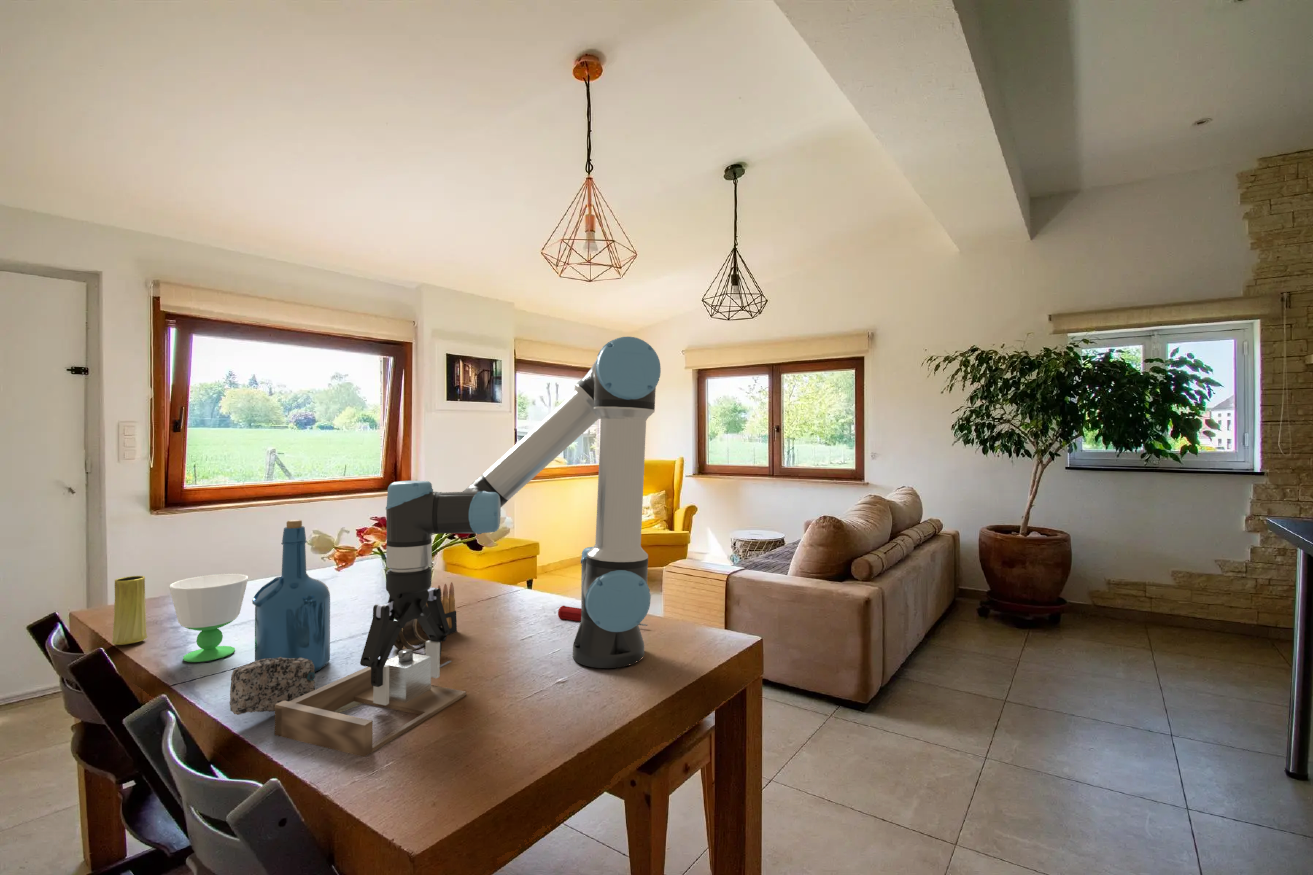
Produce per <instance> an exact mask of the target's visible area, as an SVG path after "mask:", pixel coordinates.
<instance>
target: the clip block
mask: <svg viewBox="0 0 1313 875" xmlns="http://www.w3.org/2000/svg"><path fill="white" fill-rule="evenodd" d="M385 665H389V700H393V701H398V702H403V703H407V702H409V701H411V700H412V699H414V698H416V697H418V696H420V695H422V694H423V693H425V692H427V691H429V690H431V685H432V684H431V683H432V677H431V656H425V655H424V654H418V653H414V651H413V650H411V649H407V648H406V649H401V650H399V651H398V654H397V655H396V656H393V657H391V658H389V659H388V660H387V661H386V663H385Z"/></svg>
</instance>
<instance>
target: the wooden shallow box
mask: <svg viewBox="0 0 1313 875" xmlns="http://www.w3.org/2000/svg"><path fill="white" fill-rule="evenodd" d="M388 659H390V658H389V657H388ZM388 659H387V660H388ZM466 695H467V691H465V690H460V689H454V688H449V687H443V686H438V685H433V684H431V690H429V691H427V692H425V693H423V694H422V695H420V696H418V697H416V698H414V699H412V700H411V701H409V702H407V703H403V702H398V701H393V700H389V704H388V705H386V706H385V705H381V704H376V703H373V686H372V685H371V667H367V666H365V667H364V668H362V669H359V670H357V671H355V672H352V673H350V674H348V675H345V676H343V677H342V678H339V679H337V680H334V681H332V682H330V683H328V684H325V685H323V686H320V687H318V688H317V689H316V688H315V690H314V691H311V692H309V693H307V694H305V695H302V696H300V697H298V698H296V699H293V700H291V701H289V702H288V701H282V702H279V703H277V704H275V711H274V736H277V737H280V738H284V739H289V740H293V741H297V742H301V743H305V744H309V745H313V746H317V747H322V748H326V749H329V750H333V751H338V752H342V753H346V754H351V755H355V756H359V757H363V758H364V757H366V756H368V755H370V754H371V753H373V752H375V751H376V750H378V749H379V748H382V747H383V746H385V745H386V744H388V743H389V742H391V741H393V740H394V739H396V738H397V737H400V736H402V734H405V733H406V732H407V731H410V730H411V729H413V728H414V727H416V726H418V725H419V724H421V723H423V722H424V721H425V720H427V719H429V718H431V717H432V716H434V715H436V714H437V713H439V712H440V711H442V710H444V709H445V708H448V706H451V705H452V704H454V703H455V702H457V701H459V700H460V699H463V697H465V696H466ZM364 704H365V705H371V706H376V707H380V708H385V709H390V710H395V711H400V712H405V713H409V714H411V713H412V714H415V715H418V716H416V717H414V719H412V720H410V721H408V722H407V723H405V724H403V725H401V726H400V727H398V728H397V729H394V730H393V731H392V732H390V733H388V734H386V735H385V736H383V737H381V738H380V739H378V740H376V741H374V742H373V735H374V734H373V733H374V732H373V728H374V727H373V725H374V724H373V720H372V719H371V720H370V719H366V718H362V717H358V716H354V715H349V714H344V712H345V711H348V710H350V709H352V708H355V707H357V706H360V705H364Z"/></svg>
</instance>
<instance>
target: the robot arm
mask: <svg viewBox="0 0 1313 875" xmlns="http://www.w3.org/2000/svg"><path fill="white" fill-rule="evenodd" d="M661 369H662V368H661V362H660V358H659V356H658V354H657V352H656V350H655V349H654V348H653V346H651V345H650V344H649V343H648V342H646V340H644V339H641V338H638V337H635V336H622V337H621V336H620V337H617V338H615V339H612V340H611V341H609V342H607V343H606V344H604V345H603V346H602V348H601V349H600V350H599V352H598V354H597V357H596V359H595V361H594V362H593V364H592V366H591V367H590V369H589V370H588V372H586V374H584V376H583V377H582V378H581V379H579V381H578V382H577V383H575V384H574V391H573V392H572V393H571V395H569V396H568V397H567V398H566V399H564V400H563V401H562V402H561V403H560V404H559V405H558V406H557V407H556V408H555V409H554V410H553V411H552V412H550V413H549V414H548V415H547V416H546V417H545V418H544V419H542V420H541V422H539V423H538V424H536V426H535V427H534V428H533V429H532V430H530V431H529V432H528V433H527V434H525V435H524V437H522V438H521V439H520V440H519V441H518V442H517V443H515V445H513V446H512V447H511V448H510V449H509V450H508V451H507V452H505V454H503V455H502V456H501V457H500V458H499V459H498V460H497V461H495V463H493V464H492V465H491V466H490V467H488V469H487V470H486V471H485V472H483V473H482V474H481V475H480V476H479V477H478V478H476V479H475V480H474V481H473V482H472V483H471V484H470V485H468V486H467V488H465V489H464V490H462V491H451V492H450V491H448V492H447V491H446V492H442V491H440V492H439V491H434V489H433V484H432V483H431V481H430V480H429V481H428V480H400V481H394V482H391V483H390V484H389V485H388V487H387V493H386V494H387V495H386V498H387V499H386V506H385V510H386V514H385V516H386V519H385V520H386V546H385V547H386V550H385V551H386V553H385V554H386V559H385V560H386V563H385V566H386V568H388V569H387V570H386V572H385V590H386V591H387V593H388V594H389V596H388V601H387V603H383V604H380V603H375V604H374V605H373V608H372V620H371V624H370V626H369V631H368V634H367V637H366V640H365V645H364V647H363V651H362V654H361V658H360V661H359V665H360V666H363V667H371V685H372V686H373V703H376V704H381V705H385V706H386V705H388V704H389V665H385V663H386V661H387V659H388V658H389V657H390V654H391V653H392V650H393V648H394V647H395V646H394V643H395V641H396V639H397V637H398V635H399V632H400V630H401V629H402V630H403V627H404V626H405V624H406V622H409V621H411V620H412V619H417V620H418V622H419V623H420V625H421V627H422V628H423V630H424V631H425V633H426V634H427V636H428V637H429V639H431V641H429V640H428V641H426V643H425V645H426V647H425V652H424V654H425V656H431V679H433V678H434V679H438V678H440V675H441V674H440V673H441V672H440V671H441V670H440V669H441V668H440V665H441V664H440V663H441V662H440V660H441V655H442V642H446V640H447V635H450V634H449V632H450V629H449V625H448V622H447V619H446V615H445V612H444V608H443V605H442V602H441V593H442V589H441V590H440V588H438V587H434V588H432V587H433V586H432V568H431V567H430V566H431V564H432V562H433V556H432V554H433V552H432V550H433V548H432V547H433V546H432V544H433V543H432V542H433V540H432V536H433V535H434V534H435V535H441V534H476V535H481V534H485V533H486V534H487V533H495V532H497V531H498V530H499V528H500V524H501V518H502V516H501V511H502V510H501V508H502V507H503V506H505V504H507V502H509V500H511V499H512V498H513V497H514V496H515V495H516V494H517V493H518V492H520V490H522V489H523V488H524V487H525V486H526V485H528V483H529V482H531V481H532V480H533V479H534V478H535V477H536V476H537V475H538V474H539V473H540V472H542V471H543V470H544V469H545V468H547V466H548V465H549V464H551V463H552V461H554V460H555V459H556V458H557V457H558V456H559V455H561V454H562V453H563V452H564V451H565V450H566V449H567V448H568V447H569V446H570V445H571V444H573V442H575V441H576V440H577V439H578V438H579V437H580V436H582V435H583V434H584V433H585V432H586V431H587V430H588V429H589V428H591V426H592V425H594V424H595V423H596V422H597V421H598V420H600V434H599V452H598V453H599V454H598V455H599V456H598V479H597V480H598V481H597V498H596V499H597V500H596V522H595V523H596V524H595V525H596V526H595V528H596V529H595V544H594V545H593V546H589V547H585V548H583V550H582V552H581V559H580V565H581V577H580V578H581V584H580V586H581V593H580V594H581V596H580V597H581V598H580V600H581V602H580V603H581V605H580V607H581V622H579V626H578V628H577V631H576V634H575V639H574V640H573V643H572V644H573V645H572V658H573V660H574V661H575V662H576V663H578V664H581V665H583V666H586V667H589V668H590V667H591V668H597V669H615V668H616V667H617V668H622V667H621V666H623V667H627V665H628V666H630V665H629V664H631V665H634V664H636V663H637V662H636V661H638V662H640V661H641V660H642V659H643V658H644V657H645V642H644V638H643V634H642V632H641V629H640V625H638V624H639V623H642V621H643V620H644V619H645V618H646V616H647V614H648V612H649V610H650V606H651V598H652V597H651V596H652V595H651V589H650V588H649V585H648V570H649V569H648V568H649V567H648V566H649V554H648V553H647V552H646V550H644V549H643V547H642V545H641V544H642V525H643V524H642V523H643V504H644V503H643V500H644V499H643V497H644V479H645V477H644V476H645V460H646V459H645V456H646V455H645V452H646V435H647V432H646V431H647V421H648V419H649V418H650V416H652V415H653V414H654V413H655V410H656V392H657V391H656V390H657V389H656V388H657V385H659V384H658V383H659V381H660V378H661ZM432 534H433V535H432ZM426 603H427V605H428V607H427V605H426ZM441 626H442V627H441ZM445 634H446V635H445ZM643 656H644V657H643ZM642 657H643V658H642ZM641 658H642V659H641ZM640 659H641V660H640ZM639 660H640V661H639ZM635 662H636V663H635ZM633 663H634V664H633ZM617 668H616V669H617Z"/></svg>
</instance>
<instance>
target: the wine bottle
mask: <svg viewBox="0 0 1313 875" xmlns="http://www.w3.org/2000/svg"><path fill="white" fill-rule="evenodd" d="M305 527H306V526H303V520H302V519H289V520H287V521H286V526H285V527H284V528H283V533H282V540H281V545H282V554H281V555H282V558H281V575H280V576H276V577H275V578H273V579H272V580H270V581H269V582H267V583H266V584H264V585H263V586H262V587H260V589H258V590H257V592H256V593H255V595H254V596H253V597H252V600H251V602H252V605H253V606H254V661H257V660H262V659H267V658H278V657H282V658H288V659H289V658H290V659H291V658H300V657H301V658H304V659H308V660H312V662H313V664H314V672H318V671H320V670H321V669H323V668H324V667H326V666H327V665H329V662H330V660H331V591H330V589H329V587H328V586H327V584H326V583H325V582H323V581H321V580H319V579H316V578H313V577H311V576H310V575H309V574H308V573H307V554H306V553H307V551H306V544H307V542H308V541H307V535H306V529H305Z"/></svg>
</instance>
